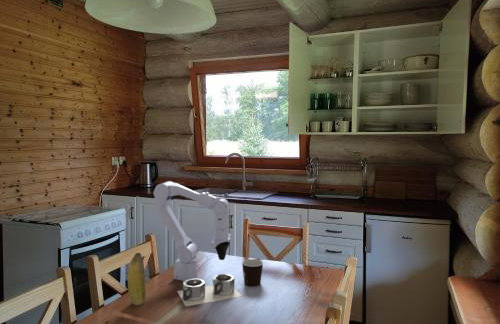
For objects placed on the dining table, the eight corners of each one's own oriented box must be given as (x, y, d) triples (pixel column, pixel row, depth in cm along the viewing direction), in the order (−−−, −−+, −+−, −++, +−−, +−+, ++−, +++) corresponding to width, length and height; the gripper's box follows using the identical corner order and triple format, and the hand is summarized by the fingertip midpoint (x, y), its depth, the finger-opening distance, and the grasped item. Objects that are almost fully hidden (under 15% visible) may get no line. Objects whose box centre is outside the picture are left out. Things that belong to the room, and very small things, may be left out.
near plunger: (185, 294, 144) (185, 283, 144) (192, 289, 149) (192, 278, 148) (196, 296, 142) (195, 285, 142) (202, 291, 147) (202, 280, 146)
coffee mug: (260, 291, 153) (261, 267, 152) (240, 289, 155) (240, 265, 154) (265, 280, 164) (265, 257, 163) (246, 278, 166) (246, 256, 165)
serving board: (185, 308, 137) (185, 306, 137) (177, 293, 150) (177, 291, 150) (241, 298, 146) (241, 296, 146) (229, 284, 159) (229, 282, 159)
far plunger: (215, 289, 149) (215, 278, 149) (221, 284, 154) (221, 274, 153) (226, 291, 147) (226, 280, 147) (231, 287, 152) (231, 276, 151)
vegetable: (134, 311, 135) (132, 256, 134) (124, 306, 140) (123, 253, 138) (148, 305, 140) (147, 252, 138) (138, 300, 144) (137, 249, 142)
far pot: (205, 295, 146) (205, 282, 146) (219, 285, 156) (219, 272, 156) (225, 299, 143) (225, 285, 142) (237, 289, 153) (237, 275, 152)
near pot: (174, 301, 142) (174, 287, 141) (191, 290, 151) (190, 276, 151) (193, 305, 138) (193, 291, 138) (209, 294, 148) (209, 280, 147)
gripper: (221, 233, 151) (221, 266, 152) (237, 224, 164) (237, 255, 165) (206, 231, 154) (206, 263, 155) (223, 223, 167) (223, 253, 168)
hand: (221, 259), depth 160 cm, fingers closed
